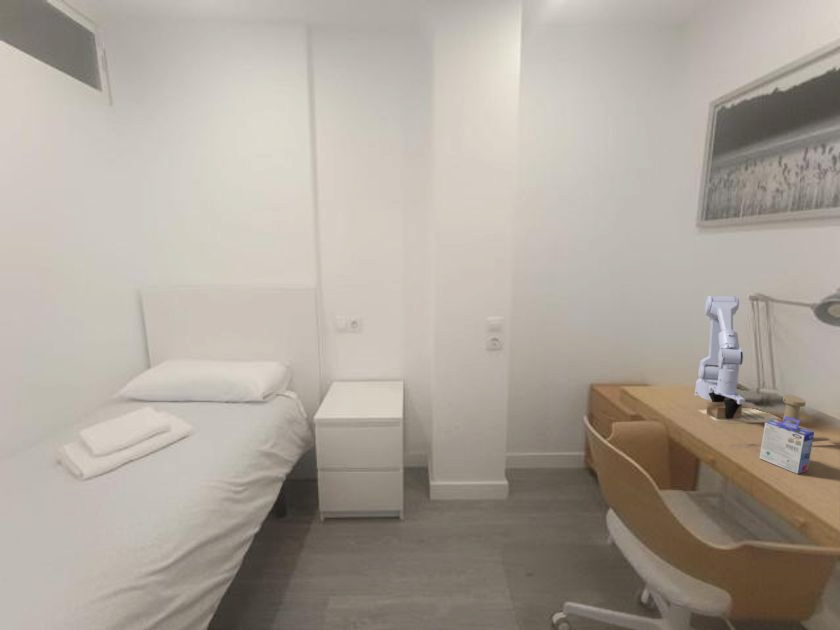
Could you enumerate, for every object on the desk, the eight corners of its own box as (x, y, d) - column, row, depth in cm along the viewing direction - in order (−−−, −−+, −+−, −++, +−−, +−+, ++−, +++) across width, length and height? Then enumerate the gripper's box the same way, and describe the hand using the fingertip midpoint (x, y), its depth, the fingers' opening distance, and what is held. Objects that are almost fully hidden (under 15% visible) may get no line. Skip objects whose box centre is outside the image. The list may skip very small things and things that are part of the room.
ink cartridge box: (809, 470, 116) (817, 424, 113) (798, 475, 114) (806, 428, 111) (768, 454, 125) (775, 411, 122) (758, 458, 123) (764, 414, 120)
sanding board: (688, 411, 157) (688, 407, 156) (757, 408, 158) (757, 405, 157) (719, 430, 141) (720, 426, 141) (796, 427, 142) (797, 423, 142)
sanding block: (706, 413, 151) (707, 402, 150) (729, 412, 151) (730, 401, 151) (716, 419, 146) (717, 407, 145) (740, 418, 146) (741, 406, 146)
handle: (790, 437, 135) (796, 395, 132) (802, 446, 129) (809, 403, 126) (773, 435, 136) (779, 394, 134) (784, 445, 130) (791, 401, 128)
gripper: (702, 374, 153) (698, 407, 156) (732, 387, 139) (728, 424, 141) (720, 373, 153) (716, 406, 156) (752, 387, 139) (747, 423, 142)
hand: (723, 414), depth 149 cm, fingers closed on sanding block, 5 cm apart
